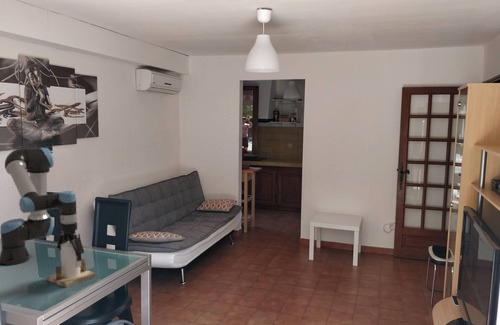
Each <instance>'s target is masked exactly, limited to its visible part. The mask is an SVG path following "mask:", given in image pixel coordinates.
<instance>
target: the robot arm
mask: <svg viewBox="0 0 500 325" xmlns="http://www.w3.org/2000/svg"><path fill="white" fill-rule="evenodd" d="M53 167H54V157H53V154H52V152H51V150H50V149H49V148H48V147H33V148H32V147H30V148H18V149H14V150H13V151H11V152H9V154H7V156H6V158H5V160H4V168H5V171H6V173H7V174H8V175H10V176H11V179H12V181H13V183H14V185H15V187H16V189H17V191H18V194H19V195H20V199H19V204H18V205H19V208H20V209H19V210H20V212H21V213H23V214H25V213H30V214H29V215H28V216H27V219H26V220H24V219H23V218H14V219H10V220H7V221H4V222H3V223H1V225H0V243H1V245H0V246H1V250H0V263H1V264H5V265H4V266H12V265H11V264H15V265H19V263H20V264H23V263H25V261H26V262H28V261H29V260H30V259H29V258H30V253H29V251H28V249H27V246H26V242H27V241H32V240H37V239H45V238H48V237H50V236H51V235H52V234H53V231H54V219H53V217H52V216H50V214H49V213H48V211H49V210H50V211H51V210H57V209H59V214H60V217H59V219H60V230H59V233H58V240H57V245H56V248H57V249H58V250H59V252H60V253H59V254H60V264H62V257H61V244H62V243H65V242H70V243H71V244H72V246H73V248H74V250H75V253H76V254H75V265H76V268H78V267H80V268H81V259H82V254H84V253H85V250H84V246H83V242H82V240H81V234H80V233H76V231H77V229H78V222H77V221H78V214H77V196H76V192H75V191H72V190H66V191H61V192H60V191H59V192H54V193H52V194H48V190H47V188H48V187H47V186H48V184H47V182H48V181H47V179H48V178H47V176H48V173H49V172H50V169H51V168H53ZM27 260H28V261H27ZM22 262H23V263H22ZM1 264H0V265H1Z"/></svg>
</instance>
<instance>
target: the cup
mask: <svg viewBox="0 0 500 325" xmlns="http://www.w3.org/2000/svg"><path fill="white" fill-rule="evenodd" d="M75 254H76V253H75V250H74V248H73V246H72V244H71V243H70V242H69V241H68V242H65V243H62V244H61V256H60V258H61V257H62V263H61V272H62V275H63V277H65V278H71V277H76V276H78V275H80V268H81V267H78V268H76V265H75Z"/></svg>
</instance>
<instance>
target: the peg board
mask: <svg viewBox="0 0 500 325" xmlns="http://www.w3.org/2000/svg"><path fill="white" fill-rule="evenodd" d="M95 277H96V272H93V271H90V270H87V267H86V258H81V267H80V275H78V276H76V277H71V278H65V277H63V275H62V265H61V266H60V265H59V266H56V267H55V274H51V275H47V281H48V282H52V283H54V284H56V285H59V286H61V287H64V288H69V287H72V286H73V285H76V284H80V283H82V282H85V281H88V280H90V279H94V278H95Z"/></svg>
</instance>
